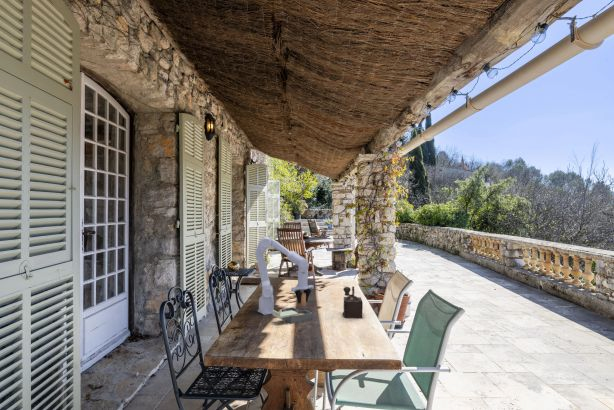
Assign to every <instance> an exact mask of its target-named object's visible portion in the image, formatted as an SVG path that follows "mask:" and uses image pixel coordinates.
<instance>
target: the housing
mask: <svg viewBox="0 0 614 410" xmlns="http://www.w3.org/2000/svg"><path fill="white" fill-rule="evenodd" d="M290 310H293V311H295V312H297V313H298V315H294V316H289V317H283V318H280V319H281V320H283V321H285V322H287V323H288V324H297V323H302V322H306V321H310V320H313V319H314V317H313V315H314V312H311V311H309V310H306V309H301V310H300V309H298V308H296V307H294V306H293V307H286V308H282V309H281V312H284V311H290Z"/></svg>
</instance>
